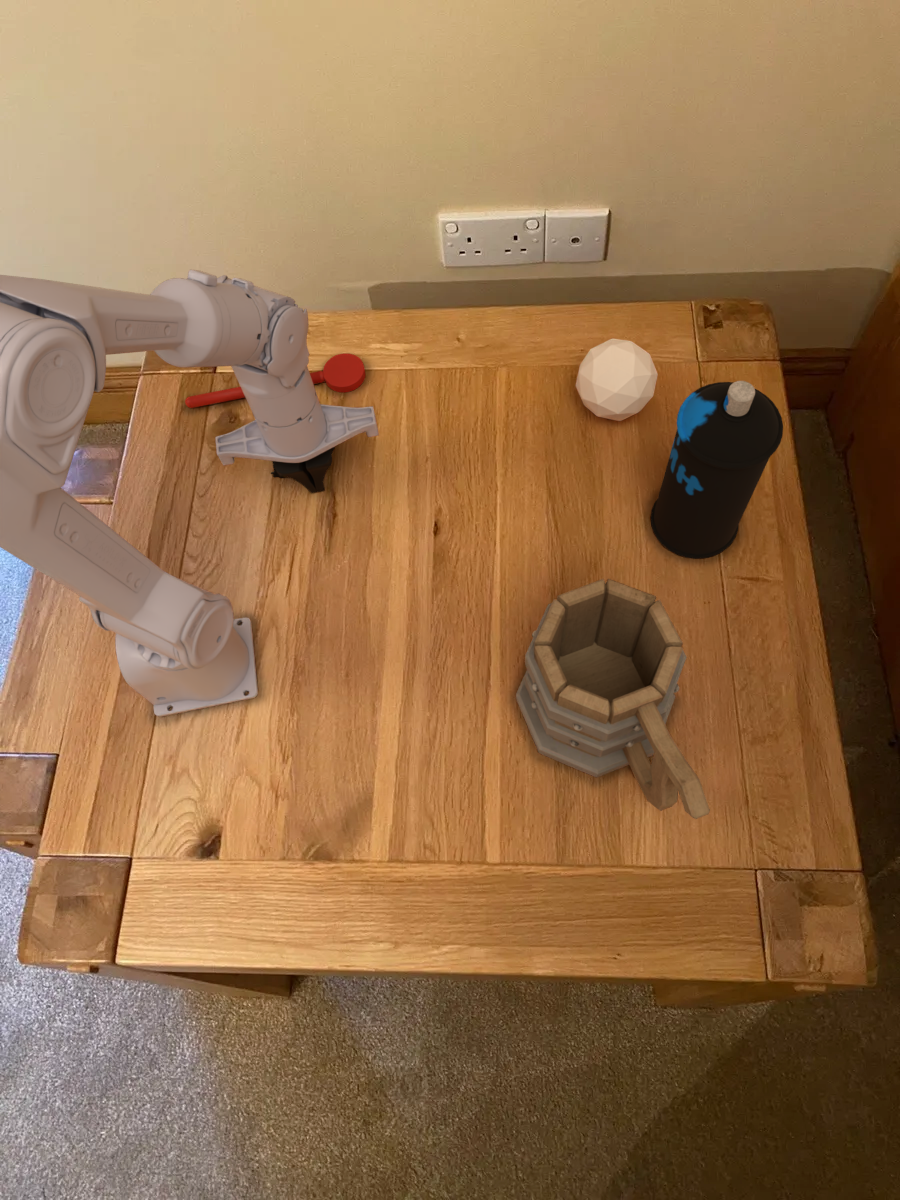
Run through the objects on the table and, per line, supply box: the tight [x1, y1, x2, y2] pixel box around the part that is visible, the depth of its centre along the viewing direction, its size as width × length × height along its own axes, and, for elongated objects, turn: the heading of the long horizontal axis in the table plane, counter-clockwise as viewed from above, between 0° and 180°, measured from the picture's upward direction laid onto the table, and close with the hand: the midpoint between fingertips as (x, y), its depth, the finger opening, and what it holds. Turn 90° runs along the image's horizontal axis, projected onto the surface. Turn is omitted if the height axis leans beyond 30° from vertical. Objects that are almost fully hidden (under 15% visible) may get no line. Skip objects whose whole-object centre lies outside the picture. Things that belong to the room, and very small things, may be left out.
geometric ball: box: [575, 338, 659, 422], centre depth 87 cm, size 8×8×8 cm
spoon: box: [184, 352, 366, 409], centre depth 94 cm, size 19×4×1 cm, turn 100°
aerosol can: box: [650, 380, 784, 560], centre depth 75 cm, size 8×8×20 cm
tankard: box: [515, 578, 711, 820], centre depth 70 cm, size 20×13×15 cm, turn 21°
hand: (316, 483), depth 88 cm, fingers closed, pressing on tape measure
